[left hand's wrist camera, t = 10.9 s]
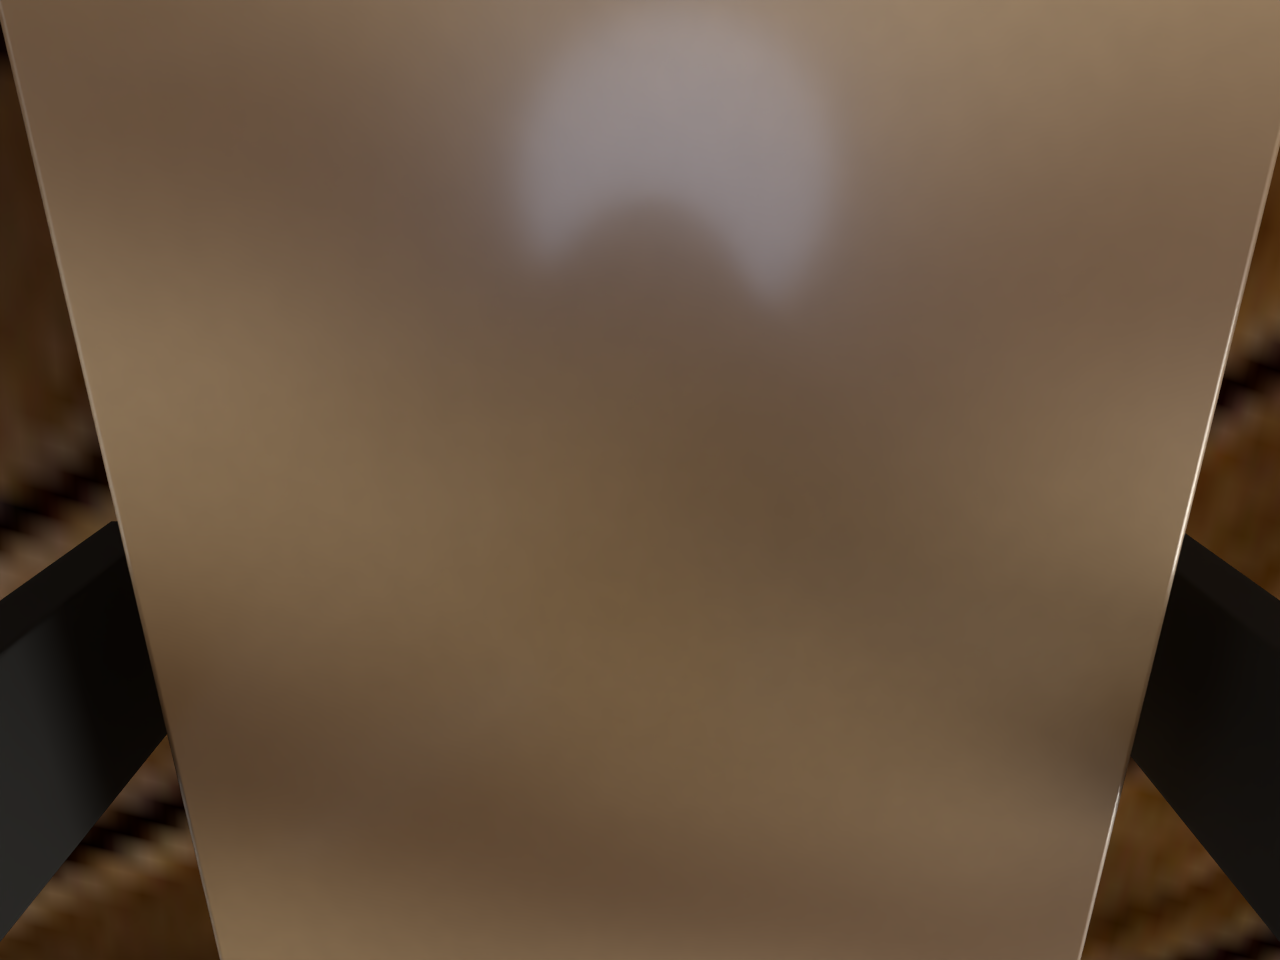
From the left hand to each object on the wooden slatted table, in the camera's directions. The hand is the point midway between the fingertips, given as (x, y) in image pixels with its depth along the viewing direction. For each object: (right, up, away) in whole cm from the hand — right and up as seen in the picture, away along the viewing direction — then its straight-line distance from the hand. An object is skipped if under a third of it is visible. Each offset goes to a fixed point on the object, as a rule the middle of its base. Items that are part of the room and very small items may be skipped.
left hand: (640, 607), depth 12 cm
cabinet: (0, +8, +5) cm, 10 cm away
